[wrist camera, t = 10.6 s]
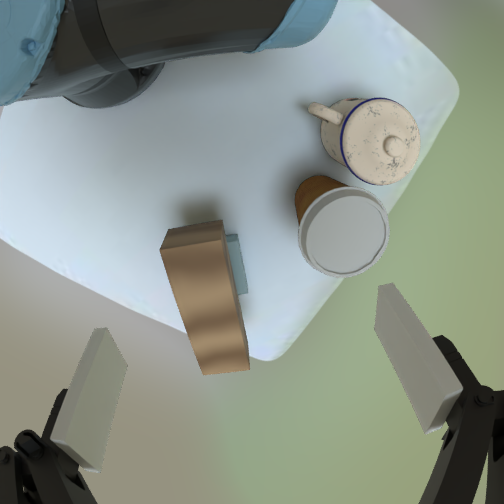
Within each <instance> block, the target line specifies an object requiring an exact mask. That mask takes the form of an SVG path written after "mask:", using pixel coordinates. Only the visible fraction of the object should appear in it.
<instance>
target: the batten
mask: <svg viewBox="0 0 504 504" xmlns="http://www.w3.org/2000/svg"><path fill="white" fill-rule="evenodd" d="M160 253H161V257H162V260H163V263H164V266H165V270H166V273H167V276H168V279H169V282H170V285H171V288H172V291H173V294H174V297H175V300H176V303H177V306H178V309H179V312H180V315H181V317H182V320H183V323H184V326H185V329H186V331H187V334H188V337H189V340H190V342H191V345H192V348H193V350H194V353H195V355H196V358H197V361H198V363H199V366H200V369H201V371H202V374H203V375H208V374H219V373H228V372H236V371H244V370H250V363H249V350H248V341H247V336H246V331H245V327H244V322H243V318H242V313H241V308H240V304H239V299H238V294H237V289H236V285H235V280H234V275H233V270H232V265H231V261H230V256H229V251H228V246H227V241H226V236H225V231H224V226H223V221H222V220H218V221H212V222H207V223H201V224H195V225H189V226H184V227H178V228H172V229H168V231H167V234H166V236H165V238H164V241H163V243H162V245H161V248H160Z"/></svg>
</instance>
